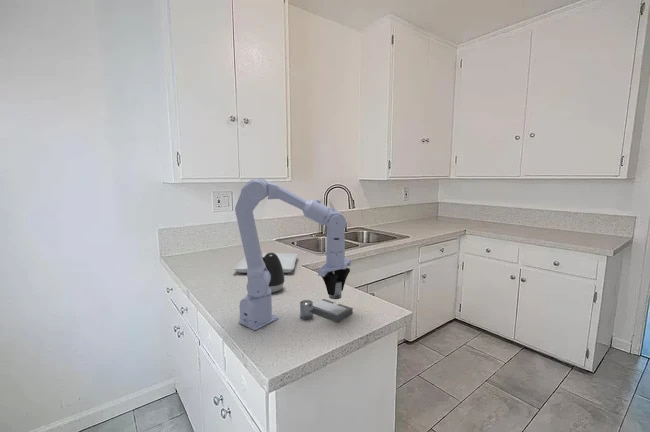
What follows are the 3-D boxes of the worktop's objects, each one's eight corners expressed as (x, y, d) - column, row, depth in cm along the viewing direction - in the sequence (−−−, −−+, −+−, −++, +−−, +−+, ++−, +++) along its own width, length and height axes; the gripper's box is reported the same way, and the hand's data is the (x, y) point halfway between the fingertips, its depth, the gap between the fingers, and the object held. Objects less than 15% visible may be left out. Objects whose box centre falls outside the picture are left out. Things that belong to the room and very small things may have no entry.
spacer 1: (307, 321, 97) (306, 306, 96) (297, 317, 100) (297, 302, 99) (315, 316, 100) (315, 302, 99) (306, 313, 103) (305, 298, 102)
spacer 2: (336, 300, 96) (336, 284, 95) (326, 297, 98) (326, 282, 98) (343, 296, 99) (344, 281, 98) (334, 293, 101) (334, 278, 101)
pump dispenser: (256, 287, 125) (254, 250, 123) (281, 284, 129) (280, 248, 127) (260, 297, 116) (258, 257, 114) (287, 293, 120) (286, 254, 117)
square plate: (293, 276, 140) (293, 268, 139) (232, 276, 140) (232, 268, 139) (298, 259, 167) (298, 252, 166) (247, 259, 166) (247, 252, 166)
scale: (338, 322, 96) (338, 315, 96) (309, 311, 104) (308, 305, 103) (352, 313, 103) (352, 306, 102) (323, 303, 110) (323, 297, 110)
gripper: (331, 257, 88) (331, 303, 90) (359, 247, 100) (358, 288, 101) (312, 253, 93) (313, 297, 95) (341, 244, 104) (341, 283, 106)
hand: (335, 292), depth 98 cm, fingers closed on spacer 2, 4 cm apart
